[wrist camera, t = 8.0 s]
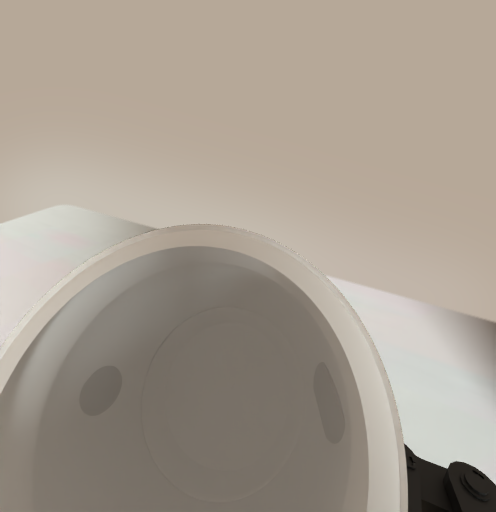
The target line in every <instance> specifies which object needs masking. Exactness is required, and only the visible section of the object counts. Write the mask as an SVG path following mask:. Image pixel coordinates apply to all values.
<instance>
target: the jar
mask: <svg viewBox="0 0 496 512" xmlns="http://www.w3.org/2000/svg"><path fill="white" fill-rule="evenodd" d="M321 362H324V363H325V365H326V367H327V368H328V370H329V372H330V374H331V377H332V379H333V381H334V384H335V386H336V389H337V392H338V395H339V398H340V402H341V405H342V409H343V414H344V419H345V430H344V434H343V437H342V439H341V441H340V442H339V443H337V444H333V443H331V442H330V441H329V440H328V439H327V438H326V436H325V433H324V429H323V425H322V421H321V417H320V413H319V409H318V405H317V401H316V397H315V393H314V389H313V381H314V374H315V370H316V367H317V366H318V364H319V363H321ZM104 366H114V367H116V368H117V369H118V370H119V371H120V373H121V376H122V386H121V390H120V393H119V395H118V397H117V399H116V400H115V402H114V403H113V404H112V405H111V407H109V408H108V409H107V410H106V411H105V412H103V413H101V414H99V415H96V416H89V415H87V414H85V413H84V412H83V411H82V409H81V407H80V403H79V398H80V393H81V390H82V387H83V385H84V383H85V382H86V381H87V380H88V379H89V377H90V376H91V375H92V374H93V373H94V372H95V371H96V370H98V369H99V368H101V367H104ZM0 512H408V482H407V466H406V456H405V448H404V441H403V434H402V429H401V424H400V419H399V414H398V410H397V406H396V402H395V398H394V395H393V391H392V388H391V385H390V382H389V379H388V376H387V373H386V371H385V368H384V365H383V363H382V360H381V358H380V356H379V353H378V351H377V349H376V347H375V345H374V343H373V341H372V339H371V337H370V335H369V333H368V331H367V330H366V328H365V326H364V325H363V323H362V321H361V320H360V318H359V316H358V315H357V313H356V312H355V311H354V309H353V308H352V306H351V305H350V304H349V302H348V301H347V300H346V298H345V297H344V296H343V295H342V293H341V292H340V291H339V290H338V289H337V288H336V286H335V285H334V284H333V283H332V282H331V281H330V280H329V279H328V278H327V277H326V276H325V275H324V274H323V273H322V272H321V271H319V270H318V269H317V268H316V267H315V266H314V265H312V264H311V263H310V262H308V261H307V260H306V259H305V258H303V257H302V256H300V255H299V254H297V253H296V252H294V251H293V250H291V249H289V248H288V247H286V246H284V245H282V244H280V243H278V242H276V241H274V240H272V239H270V238H268V237H265V236H263V235H260V234H257V233H254V232H250V231H247V230H244V229H239V228H235V227H229V226H221V225H210V224H193V225H180V226H173V227H167V228H163V229H158V230H154V231H150V232H147V233H144V234H141V235H138V236H135V237H132V238H130V239H127V240H125V241H123V242H120V243H118V244H116V245H114V246H112V247H110V248H108V249H106V250H104V251H102V252H101V253H99V254H97V255H96V256H94V257H92V258H91V259H89V260H88V261H86V262H85V263H83V264H82V265H80V266H79V267H77V268H76V269H75V270H73V271H72V272H71V273H69V274H68V275H67V276H66V277H64V278H63V279H62V280H61V281H59V282H58V283H57V284H56V285H55V286H54V287H53V288H52V289H50V290H49V291H48V292H47V293H46V294H45V295H44V296H43V297H42V298H41V299H40V300H39V301H38V302H37V303H36V304H35V305H34V306H33V307H32V308H31V310H30V311H29V312H28V313H27V314H26V315H25V316H24V318H23V319H22V320H21V321H20V322H19V323H18V325H17V326H16V327H15V328H14V330H13V331H12V332H11V334H10V335H9V336H8V338H7V339H6V340H5V342H4V343H3V345H2V346H1V347H0Z"/></svg>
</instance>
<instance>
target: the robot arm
mask: <svg viewBox="0 0 496 512" xmlns="http://www.w3.org/2000/svg"><path fill="white" fill-rule="evenodd" d="M121 386H122V376H121V373H120V371H119V370H118V369H117V368H116V367H114V366H104V367H101V368H99V369H98V370H96V371H95V372H94V373H93V374H92V375H91V376H90V377H89V379H88V380H87V381H86V382H85V383H84V385H83V387H82V390H81V393H80V398H79V403H80V407H81V409H82V411H83V412H84V413H85V414H87V415H89V416H96V415H99V414H101V413H103V412H105V411H106V410H107V409H108V408H109V407H111V405H112V404H113V403H114V402H115V400H116V399H117V397H118V395H119V393H120V390H121ZM313 389H314V393H315V397H316V401H317V405H318V409H319V413H320V417H321V421H322V425H323V429H324V433H325V436H326V438H327V439H328V440H329V441H330V442H331V443H333V444H337V443H339V442H340V441H341V439H342V437H343V434H344V430H345V419H344V414H343V409H342V405H341V402H340V398H339V395H338V392H337V389H336V386H335V384H334V381H333V379H332V377H331V374H330V372H329V370H328V368H327V367H326V365H325V363H324V362H321V363H319V364H318V366H317V367H316V370H315V374H314V381H313ZM404 448H405V456H406V466H407V482H408V512H496V485H495V484H494V483H493V482H492V481H491V480H490V479H489V478H488V477H487V476H486V475H485V474H484V473H482V472H481V471H479V470H478V469H476V468H475V467H473V466H471V465H469V464H466V463H464V462H457V461H456V462H453V463H450V465H449V467H448V469H447V468H444V467H441V466H439V465H436V464H433V463H431V462H428V461H425V460H423V459H421V458H419V457H417V456H416V455H414V453H413V452H412V451H411V450H410V449H409V448H408V447H407V446H406V445H405V444H404Z"/></svg>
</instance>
